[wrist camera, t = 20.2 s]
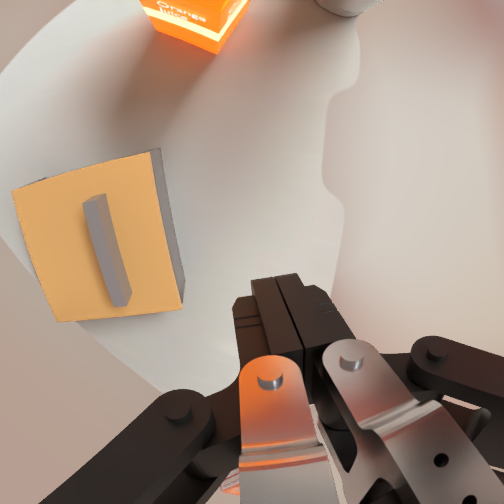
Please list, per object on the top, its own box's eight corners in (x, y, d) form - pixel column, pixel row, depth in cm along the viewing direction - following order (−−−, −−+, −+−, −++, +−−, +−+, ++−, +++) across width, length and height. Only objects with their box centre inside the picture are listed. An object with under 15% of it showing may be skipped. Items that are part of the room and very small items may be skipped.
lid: (15, 189, 27) (-3, 197, 23) (150, 151, 28) (141, 155, 24) (59, 318, 34) (49, 335, 30) (182, 304, 36) (179, 324, 32)
